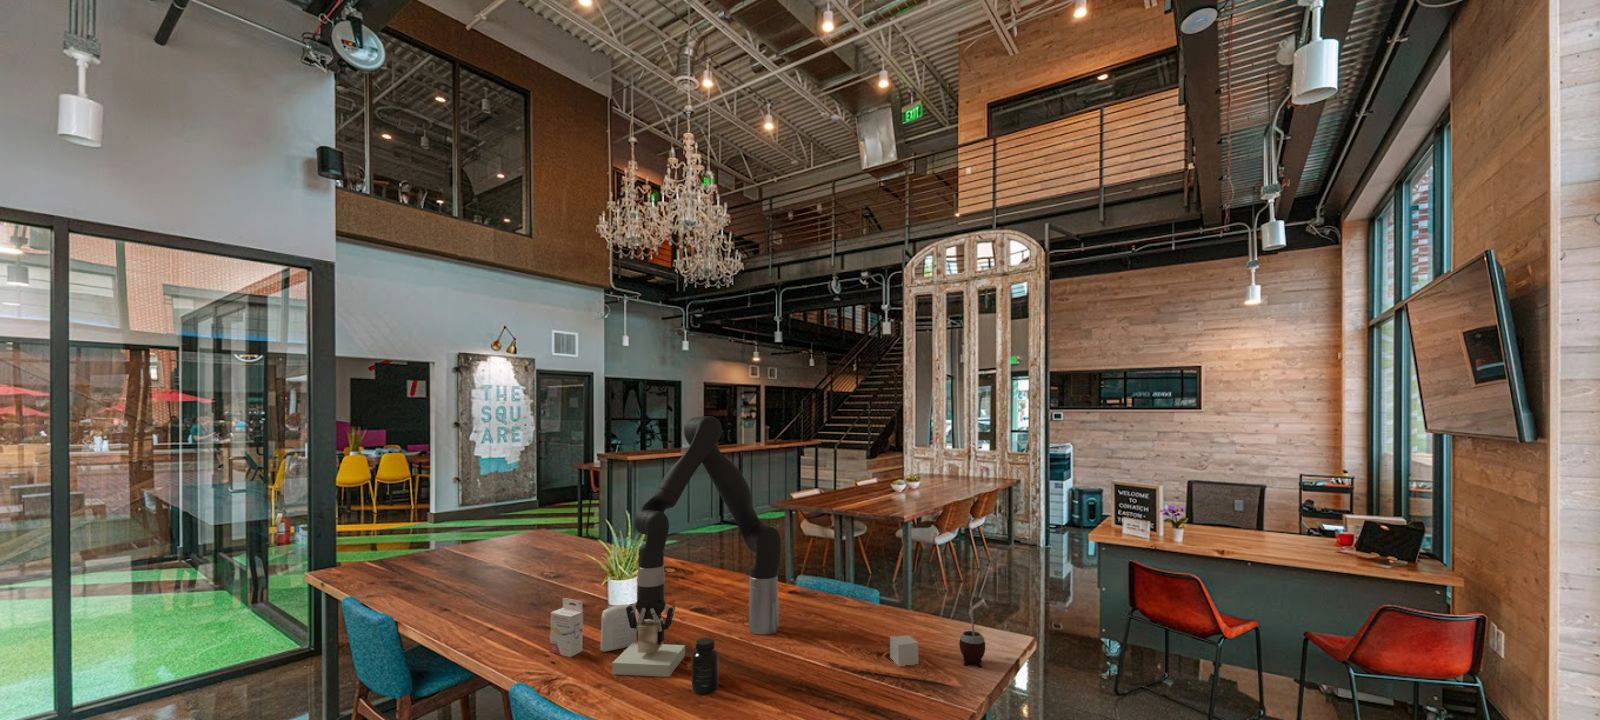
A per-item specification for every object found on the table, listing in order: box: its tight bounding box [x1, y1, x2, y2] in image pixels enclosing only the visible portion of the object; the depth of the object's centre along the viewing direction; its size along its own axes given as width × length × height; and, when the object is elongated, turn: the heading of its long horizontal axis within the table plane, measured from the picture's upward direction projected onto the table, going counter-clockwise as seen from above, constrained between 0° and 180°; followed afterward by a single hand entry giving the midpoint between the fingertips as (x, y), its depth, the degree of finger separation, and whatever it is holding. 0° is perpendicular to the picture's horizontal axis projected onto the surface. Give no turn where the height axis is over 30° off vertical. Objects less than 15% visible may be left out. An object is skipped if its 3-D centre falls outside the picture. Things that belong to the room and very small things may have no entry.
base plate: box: [611, 642, 686, 678], centre depth 174 cm, size 16×14×3 cm
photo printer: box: [600, 603, 637, 653], centre depth 187 cm, size 10×4×12 cm, turn 123°
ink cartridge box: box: [549, 597, 584, 658], centre depth 183 cm, size 9×5×15 cm, turn 65°
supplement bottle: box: [691, 637, 719, 695], centre depth 159 cm, size 7×7×12 cm
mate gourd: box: [958, 602, 986, 669], centre depth 174 cm, size 8×8×15 cm
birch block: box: [637, 619, 664, 653], centre depth 174 cm, size 5×6×7 cm
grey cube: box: [889, 634, 919, 667], centre depth 175 cm, size 6×6×6 cm
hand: (650, 643), depth 174 cm, fingers closed on birch block, 5 cm apart
